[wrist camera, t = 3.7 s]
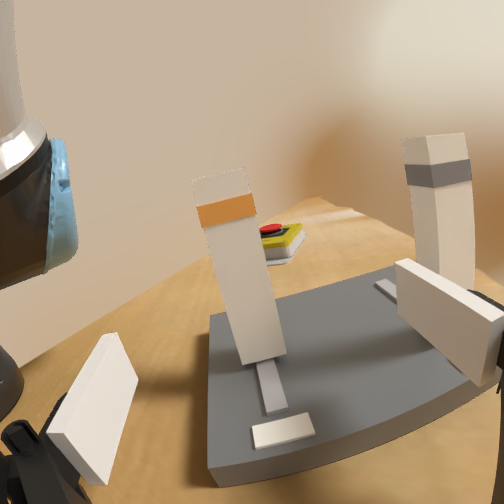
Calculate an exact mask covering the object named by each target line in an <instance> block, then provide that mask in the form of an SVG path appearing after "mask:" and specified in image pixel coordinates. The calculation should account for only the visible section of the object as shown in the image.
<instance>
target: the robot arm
mask: <svg viewBox="0 0 504 504" xmlns="http://www.w3.org/2000/svg"><path fill="white" fill-rule="evenodd" d="M77 249H78V234H77V226H76V218H75V212H74V205H73V198H72V192H71V188H70V179H69V169H68V161H67V154H66V148H65V143H64V142H63V140H61V139H54V138H53V139H50V140H49V141H48V139H47V133H46V129H45V126H44V124H43V123H42V122H41V121H39V120H37V119H35V118H33V117H31V116H29V115H27V114H26V113H25V110H24V105H23V99H22V93H21V87H20V80H19V73H18V66H17V57H16V46H15V31H14V5H13V0H0V290H1V289H4V288H6V287H9V286H12V285H14V284H17V283H19V282H22V281H25V280H27V279H30V278H32V277H35V276H38V275H40V274H45V273H47V272H48V270H50V269H52V268H54V267H57V266H59V265H61V264H63V263H65V262H68V261H69V260H70V259H71V258H72V257H73V256H74V255H75V253H76V251H77ZM394 264H395V277H396V295H397V314H398V315H399V316H400V317H402V318H403V319H404V320H405V321H406V322H407V323H408V324H410V325H411V326H412V327H413V328H414V329H415V330H416V331H417V332H419V333H420V334H421V335H422V336H423V337H424V338H425V339H426V340H428V341H429V342H430V343H431V344H432V345H433V346H434V347H435V348H436V349H438V350H439V351H440V352H441V353H442V354H443V355H444V356H445V357H446V358H447V359H449V360H450V361H451V362H452V363H453V364H454V365H455V366H456V367H457V368H458V369H459V370H460V371H462V372H463V373H464V374H465V375H466V376H467V377H468V378H469V379H470V380H471V381H472V382H473V383H474V384H475V385H476V386H478V387H479V388H480V387H481V386H483V385H484V384H486V383H488V382H489V381H491V380H492V379H493V378H494V374H495V370H496V366H498V367H499V368H500V369H502V374H501V378H500V381H499V385H498V388H497V392H496V394H499V391H500V389H501V424H500V441H499V453H498V463H497V471H496V478H495V485H494V491H493V496H492V502H491V504H504V306H503V305H501V304H499V303H497V302H496V301H495V302H494V300H492V299H490V298H487V296H485V295H483V294H482V293H480V292H477V291H473V290H469V289H467V290H465V289H464V288H462V287H460V286H458V285H457V284H455V283H453V282H451V281H449V280H448V279H446V278H444V277H442V276H440V275H438V274H437V273H435V272H433V271H431V270H429V269H427V268H425V267H424V266H422V265H420V264H418V263H416V262H414V261H412V260H410V259H408V258H407V259H403V260H400V261H397V262H394ZM138 380H139V379H138V377H137V375H136V373H135V371H134V369H133V367H132V365H131V363H130V361H129V359H128V356H127V354H126V352H125V350H124V348H123V345H122V343H121V341H120V339H119V336H118V334H117V332H115V333H110V334H105V335H102V337H101V339H100V340H99V342H98V343H97V345H96V346H95V348H94V350H93V351H92V353H91V355H90V356H89V358H88V359H87V361H86V363H85V364H84V366H83V368H82V369H81V371H80V373H79V374H78V376H77V378H76V379H75V381H74V383H73V385H72V386H71V388H70V390H69V391H68V392H67V393H65V394H64V395H63V396H62V397H61V398H60V399H59V400H58V401H57V403H56V405H55V406H54V408H53V410H52V412H51V413H50V415H49V416H50V417H48V419H47V420H46V422H45V424H44V426H43V428H42V429H41V431H40V433H39V435H37V433H36V432H35V431H34V429H33V428H32V427H31V425H30V424H29V422H28V421H26V420H17V421H14V422H12V423H11V424H9V425H8V426H7V427H6V428H5V429H4V430H3V432H2V434H1V440H2V441H3V443H4V444H5V445H6V446H7V448H8V449H9V450H10V451H11V453H12V455H7V456H4V455H3V453H2V452H1V451H0V504H9V503H8V500H7V498H8V499H9V500H10V501H11V504H92V503H91V501H90V499H89V498H88V496H87V494H86V492H85V491H84V489H83V488H82V487H81V485H80V484H79V483H78V481H79V478H80V475H81V476H82V477H83V478H84V480H85V481H86V482H87V483H88V484H89V485H100V486H107V484H108V480H109V476H110V473H111V469H112V465H113V462H114V458H115V455H116V451H117V448H118V444H119V441H120V437H121V434H122V431H123V427H124V424H125V421H126V418H127V414H128V411H129V408H130V405H131V402H132V399H133V395H134V392H135V389H136V386H137V383H138ZM23 387H24V378H23V375H22V374H21V372H20V370H19V368H18V367H17V365H16V363H15V361H14V360H13V359H12V357H11V356H10V355H9V354H8V353H7V352H6V351H5V350H4V349H3V348H2V347H1V346H0V420H1V419H3V418H4V417H5V416H6V415H7V413H8V412H9V411H10V410H11V409H12V408H13V406H14V405H15V404H16V402H17V401H18V399H19V397H20V395H21V393H22V390H23Z"/></svg>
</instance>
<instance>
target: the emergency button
mask: <svg viewBox="0 0 504 504" xmlns="http://www.w3.org/2000/svg"><path fill="white" fill-rule="evenodd" d="M259 231H260V236H261V240H262V244H263V249H264V253H265V258H266V262H267V266H273V265H283V264H286V263H289V262H290V261H291V259H292V258H293V256H294V255H295V253H296V252H297V250H298V249H299V247H300V246H301V244H302V243H303V242H304V240H305V239H306V237H307V235H306V234H304V231H303V227H302V224H301V223H298V224H291V225H284V226H282V225H281V224H270V225H266V226H264V227H261V228H260V229H259Z"/></svg>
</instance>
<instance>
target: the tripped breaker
mask: <svg viewBox="0 0 504 504" xmlns="http://www.w3.org/2000/svg"><path fill="white" fill-rule="evenodd" d="M191 183H192V187H193V191H194V195H195V199H196V203H197V211H198V214H199V218H200V222H201V226H202V228H203V230H204V233H205V237H206V241H207V245H208V248H209V252H210V256H211V259H212V263H213V267H214V270H215V274H216V277H217V281H218V285H219V288H220V292H221V295H222V299H223V302H224V306H225V309H226V312H227V316H228V319H229V323H230V326H231V329H232V333H233V336H234V339H235V343H236V346H237V349H238V353H239V356H240V359H241V362H242V365H245V364H249V363H253V362H257V361H261V360H265V359H269V358H273V357H277V356H281V355H284V354H287V352H286V347H285V343H284V338H283V334H282V329H281V325H280V320H279V316H278V311H277V307H276V302H275V298H274V293H273V289H272V284H271V280H270V275H269V271H268V266H267V262H266V258H265V253H264V249H263V244H262V240H261V236H260V231H259V227H258V223H257V218H256V210H255V206H254V201H253V197H252V194H251V192H250V188H249V184H248V180H247V175H246V171H245V167H242V168H238V169H233V170H229V171H225V172H221V173H217V174H213V175H209V176H205V177H201V178H197V179H193V180H191Z"/></svg>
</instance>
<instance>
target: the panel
mask: <svg viewBox="0 0 504 504" xmlns="http://www.w3.org/2000/svg"><path fill="white" fill-rule="evenodd" d="M275 302H276V307H277V311H278V316H279V320H280V325H281V329H282V334H283V338H284V343H285V347H286V352H287V354H284V355H281V356H277V357H273V358H269V359H265V360H261V361H257V362H253V363H249V364H245V365H242V362H241V359H240V356H239V353H238V349H237V346H236V343H235V339H234V336H233V333H232V329H231V326H230V323H229V319H228V316H227V312H223V313H218V314H214V315H210V332H209V365H208V426H207V464H208V470H209V472H210V473H211V475H212V477H213V478H214V480H215V482H216V483H217V485H218V486H219V488H222V487H229V486H235V485H242V484H247V483H253V482H258V481H263V480H268V479H272V478H277V477H281V476H285V475H289V474H293V473H297V472H301V471H305V470H308V469H312V468H316V467H319V466H322V465H326V464H329V463H332V462H335V461H338V460H341V459H344V458H347V457H350V456H353V455H356V454H358V453H361V452H364V451H366V450H369V449H372V448H374V447H377V446H379V445H382V444H384V443H386V442H389V441H391V440H394V439H396V438H398V437H400V436H403V435H405V434H407V433H409V432H411V431H414V430H416V429H418V428H420V427H422V426H424V425H426V424H428V423H430V422H432V421H434V420H436V419H438V418H440V417H441V416H443V415H445V414H447V413H449V412H451V411H452V410H454V409H456V408H458V407H460V406H461V405H463V404H465V403H466V402H468V401H470V400H471V399H473V398H475V397H476V396H478V395H480V394H481V393H483V392H484V391H486V390H487V389H489V388H490V387H492V386H493V385H495V384H496V383H498V382H499V381H500V378H501V374H502V369H500V368H499V367H498V366H496V370H495V374H494V378H493V379H492V380H491V381H489V382H488V383H486V384H484V385H483V386H481V387H480V388H479V387H478V386H476V385H475V384H474V383H473V382H472V381H471V380H470V379H469V378H468V377H467V376H466V375H465V374H464V373H463V372H462V371H460V370H459V369H458V368H457V367H456V366H455V365H454V364H453V363H452V362H451V361H450V360H449V359H447V358H446V357H445V356H444V355H443V354H442V353H441V352H440V351H439V350H438V349H436V348H435V347H434V346H433V345H432V344H431V343H430V342H429V341H428V340H426V339H425V338H424V337H423V336H422V335H421V334H420V333H419V332H417V331H416V330H415V329H414V328H413V327H412V326H411V325H410V324H408V323H407V322H406V321H405V320H404V319H403V318H402V317H400V316H399V315H398V314H397V295H396V277H395V265H393V266H390V267H387V268H384V269H380V270H377V271H374V272H370V273H367V274H364V275H360V276H357V277H354V278H350V279H347V280H343V281H340V282H336V283H333V284H329V285H326V286H322V287H319V288H315V289H312V290H308V291H304V292H301V293H297V294H293V295H290V296H286V297H282V298H278V299H275Z"/></svg>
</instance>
